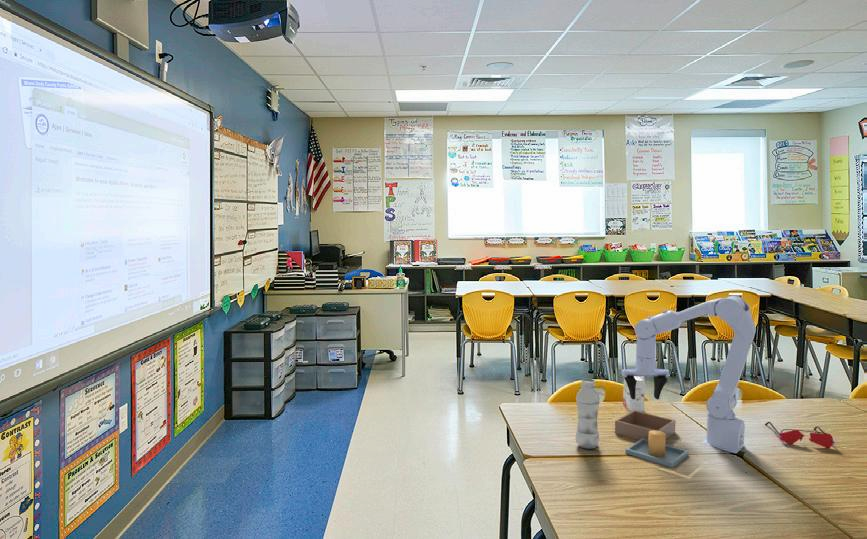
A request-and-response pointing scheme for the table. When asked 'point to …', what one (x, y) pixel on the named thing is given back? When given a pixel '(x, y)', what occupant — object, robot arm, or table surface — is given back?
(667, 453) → the tray
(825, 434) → the glasses
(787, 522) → the table surface
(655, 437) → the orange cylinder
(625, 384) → the ink cartridge box
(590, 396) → the plastic bottle
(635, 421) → the brown storage bin
